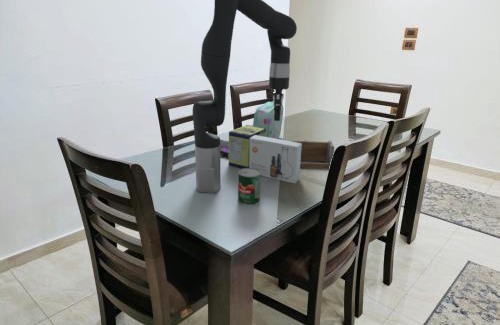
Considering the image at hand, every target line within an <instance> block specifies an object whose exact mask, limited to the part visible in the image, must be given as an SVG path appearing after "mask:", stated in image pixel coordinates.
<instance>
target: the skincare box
mask: <svg viewBox="0 0 500 325" xmlns="http://www.w3.org/2000/svg"><path fill="white" fill-rule="evenodd" d="M291 141H292V140H291ZM291 141H286V140H285V139H280V138H278V139H274V138H269V137H263V136H258V135H254V136H252V137H251V138H250V158H249V168H255V169H258V170H260V171H261V176H262V177H266V178H270V179H274V180H277V181H278V180H279V181H284V182H288V183H290V184H296V183H297V182H299V180H300V172H301V171H300V170H301V167H300V162H302V160H301V147H302V143H297V142H291Z"/></svg>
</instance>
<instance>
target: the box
mask: <svg viewBox="0 0 500 325" xmlns="http://www.w3.org/2000/svg"><path fill="white" fill-rule="evenodd" d="M220 157H224V158H227V159H229V140H223V139H220Z"/></svg>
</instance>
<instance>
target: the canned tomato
mask: <svg viewBox="0 0 500 325" xmlns="http://www.w3.org/2000/svg"><path fill="white" fill-rule="evenodd" d="M237 173H238V174H237V178H238V179H237V183H238V187H237V201H238V203H239V204H241V205H244V206H256V205H258V204H260V201H261V178H262V177H261V171H260V170H258V169H255V168H239V170H238V172H237Z"/></svg>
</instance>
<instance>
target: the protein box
mask: <svg viewBox="0 0 500 325" xmlns="http://www.w3.org/2000/svg"><path fill="white" fill-rule="evenodd" d="M254 135H258V136H263V137H266V128H262V127H256V126H253V125H249V124H245V125H242V126H240V127H238V128H235V129H232V130H231V131H229V132H228V142H229V158H228V166H232V167H235V168H239V169H243V168H249V158H250V138H251V137H252V136H254Z"/></svg>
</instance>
